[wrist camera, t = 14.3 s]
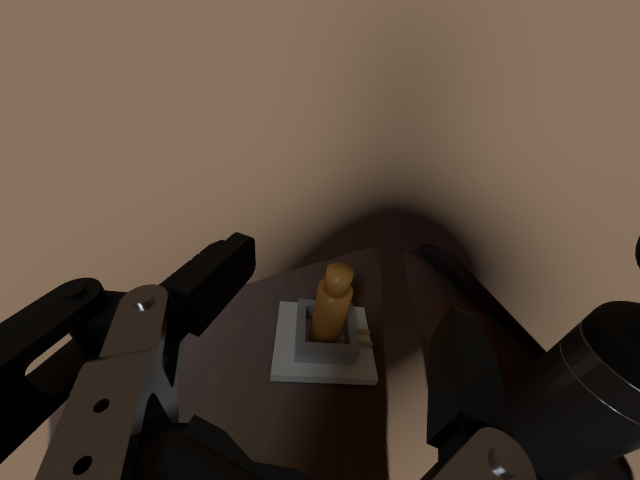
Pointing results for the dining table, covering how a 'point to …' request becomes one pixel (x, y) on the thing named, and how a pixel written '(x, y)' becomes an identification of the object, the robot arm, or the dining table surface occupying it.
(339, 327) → the stepped amber cylinder
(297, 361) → the hollow square frame plate
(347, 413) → the dining table surface
